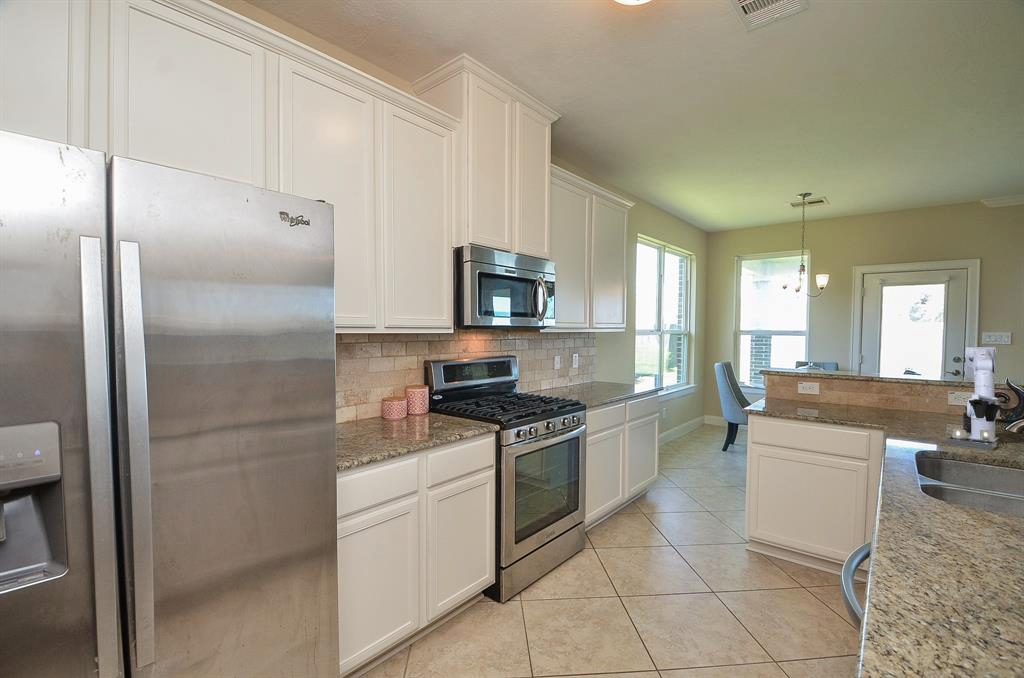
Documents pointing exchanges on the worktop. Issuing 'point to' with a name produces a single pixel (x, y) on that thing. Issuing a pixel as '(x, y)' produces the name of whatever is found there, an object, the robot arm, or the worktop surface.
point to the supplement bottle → (966, 422)
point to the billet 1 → (959, 434)
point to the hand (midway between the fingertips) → (985, 419)
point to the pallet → (972, 443)
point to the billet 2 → (987, 435)
